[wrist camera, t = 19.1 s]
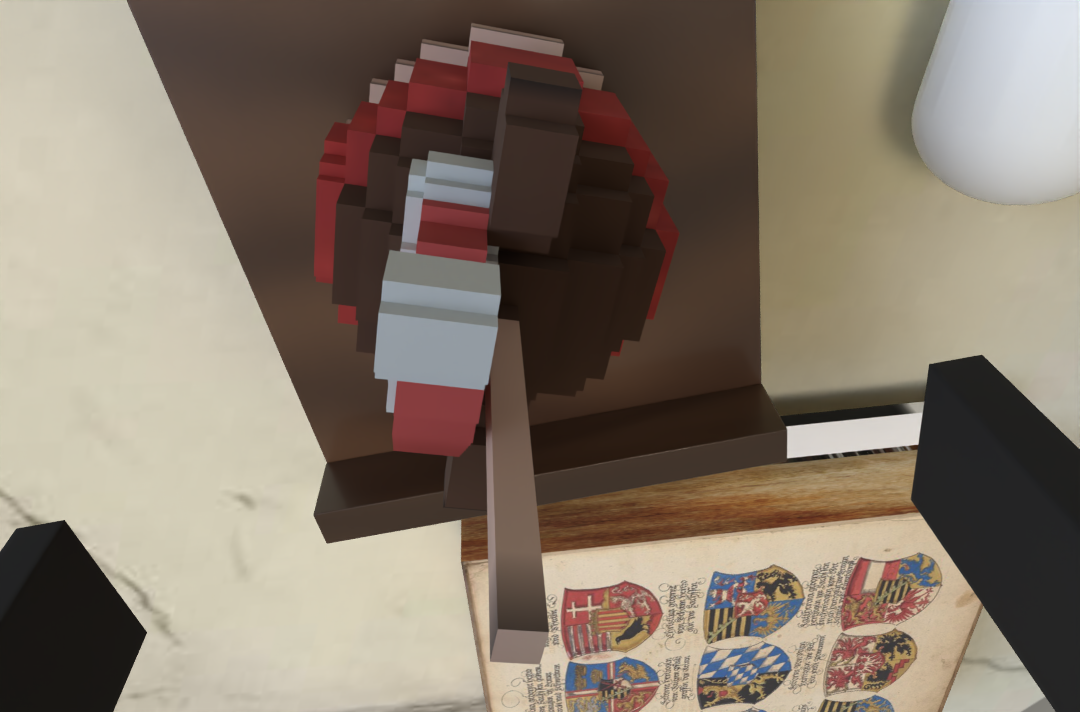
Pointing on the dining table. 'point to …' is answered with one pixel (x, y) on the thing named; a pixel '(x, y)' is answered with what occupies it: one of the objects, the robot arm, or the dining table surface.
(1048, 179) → the mug
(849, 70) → the dining table surface
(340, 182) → the cake
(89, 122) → the dining table surface
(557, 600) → the book
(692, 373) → the shelf
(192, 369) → the dining table surface
